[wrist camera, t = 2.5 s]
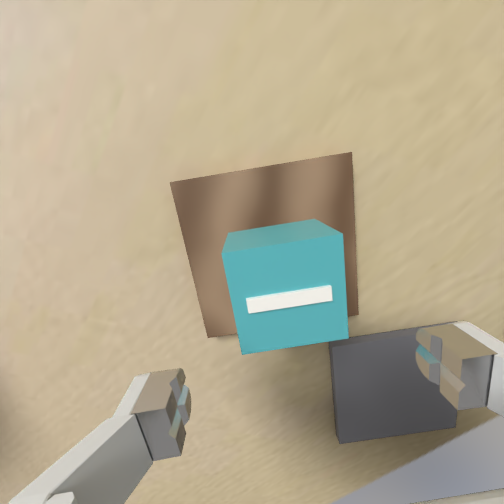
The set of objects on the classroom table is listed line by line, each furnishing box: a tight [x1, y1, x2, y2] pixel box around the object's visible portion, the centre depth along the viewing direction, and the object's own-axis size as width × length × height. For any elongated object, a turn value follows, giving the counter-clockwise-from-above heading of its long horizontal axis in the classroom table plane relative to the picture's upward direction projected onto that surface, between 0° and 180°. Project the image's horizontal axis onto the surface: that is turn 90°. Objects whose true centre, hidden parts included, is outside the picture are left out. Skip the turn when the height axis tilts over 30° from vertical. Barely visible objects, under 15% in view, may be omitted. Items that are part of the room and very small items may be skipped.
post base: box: [170, 152, 359, 338], centre depth 18 cm, size 14×14×8 cm
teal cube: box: [221, 219, 349, 355], centre depth 15 cm, size 6×6×5 cm
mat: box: [329, 321, 457, 444], centre depth 26 cm, size 13×13×1 cm
